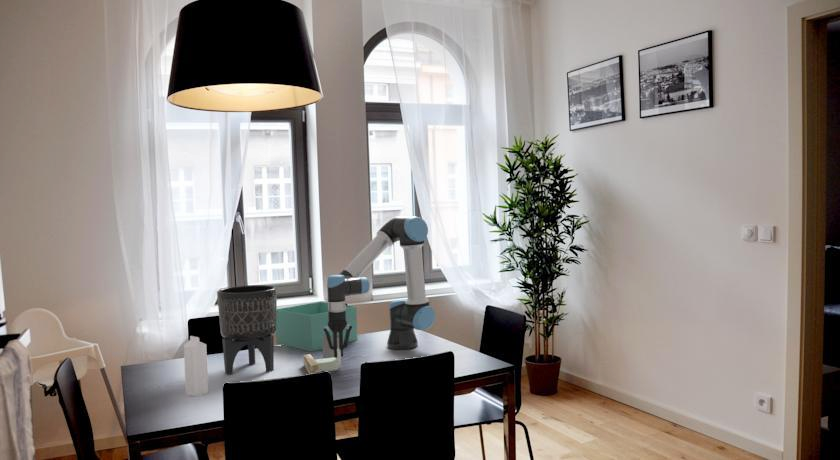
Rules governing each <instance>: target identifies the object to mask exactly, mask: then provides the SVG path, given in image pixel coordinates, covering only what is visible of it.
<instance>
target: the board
mask: <svg viewBox="0 0 840 460" xmlns="http://www.w3.org/2000/svg"><path fill="white" fill-rule="evenodd" d="M302 357H303V367H304V369H305V370H306V372H307V373H308V375H310V373H317V372H319V365H318V363H317V362H316V361H315V360H316V359H315V358H314V357H313V356H312V355H311V354H310V353H309V354H303V355H302ZM319 373H320V372H319Z"/></svg>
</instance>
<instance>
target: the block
mask: <svg viewBox="0 0 840 460" xmlns="http://www.w3.org/2000/svg"><path fill="white" fill-rule="evenodd" d="M314 360H315V361H316V362H317V363H318V365H319V373H323V372H322V371H325V372H332V371H338V370H339V369H340V368H339V366H340V365H339V364H338V360H337V359H336V358H335V357H333V358H325V359H323V358H317V359H314Z"/></svg>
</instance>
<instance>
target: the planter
mask: <svg viewBox="0 0 840 460" xmlns="http://www.w3.org/2000/svg"><path fill="white" fill-rule="evenodd" d="M277 290H278V289H277V287H276V286H274V285H265V284H264V285H262V284H257V285H256V284H254V285H253V284H252V285H238V286H231V287H224V288H220V289H218V290H217V291H216V296H217V307H218V318H219V327H220V330H219V331H220V334H221V336H222V351H223V352H222V353H223V362H224V363H223V364H224V374H225V375H227V376H229V375H233V373H234V372H233V371H234V364H235V363H234V362H235V359H236V358H237V355H238V354H239V352H240V351H241V350H242V349H243V348H244V347H246V346H247V349H248V350H247V352H248V364H249V365H255V364H256V348H257V350H258V351H259V352H260V354H261V355H262V358H263V361H264V365H265V372H269V371H271V372H273V371H275V370H274V369H275V367H274V366H275V365H274V361H275V360H274V359H275V358H274V356H275V354H274V351H275V350H274V347H275V345H274V343H275V341H274V340H275V339H274V338H275V335H273V334H275V333H276V311H277V309H278V307H277V297H278V296H277V294H278V293H277ZM272 370H273V371H272Z"/></svg>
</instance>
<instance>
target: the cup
mask: <svg viewBox="0 0 840 460" xmlns="http://www.w3.org/2000/svg"><path fill="white" fill-rule="evenodd" d="M330 338H331V342H332V345H333V335H330ZM322 339H323V349H322V359H325V358H333V357H334V350H332V349H330V348H329V344H328V341H327V337H326V336H324V337H322ZM337 349H339V335H337Z"/></svg>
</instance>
